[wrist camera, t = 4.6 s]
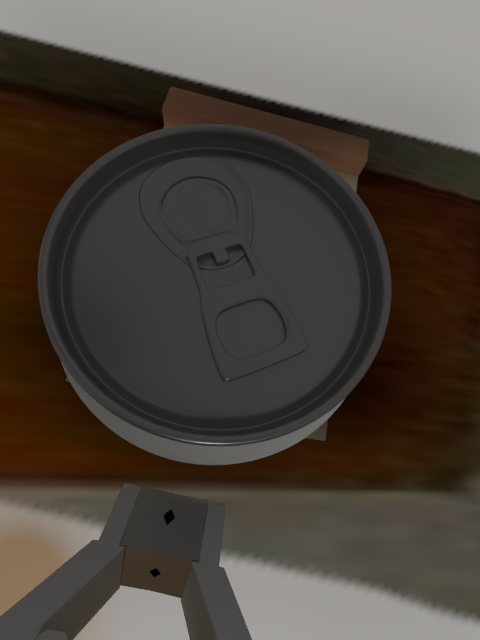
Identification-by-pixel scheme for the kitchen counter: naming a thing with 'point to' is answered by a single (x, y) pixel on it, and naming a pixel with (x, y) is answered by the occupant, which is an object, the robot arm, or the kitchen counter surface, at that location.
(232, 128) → the can
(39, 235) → the kitchen counter surface
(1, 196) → the kitchen counter surface
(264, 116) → the wooden rack
